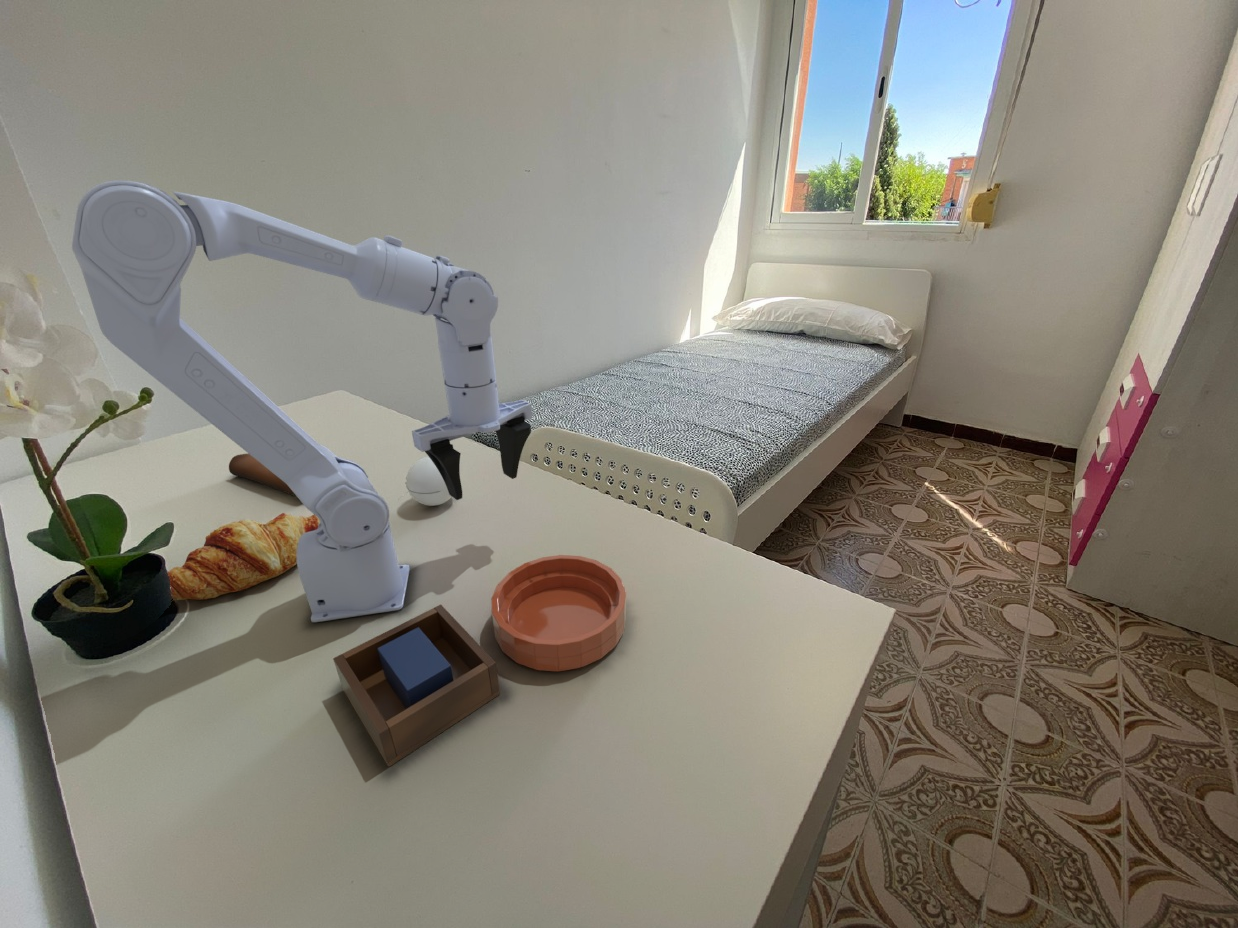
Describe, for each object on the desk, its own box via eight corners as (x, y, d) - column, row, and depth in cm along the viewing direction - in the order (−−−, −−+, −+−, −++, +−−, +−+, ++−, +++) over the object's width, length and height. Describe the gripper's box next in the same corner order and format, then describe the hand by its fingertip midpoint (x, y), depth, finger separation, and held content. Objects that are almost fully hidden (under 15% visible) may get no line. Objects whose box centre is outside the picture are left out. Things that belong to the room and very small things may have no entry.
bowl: (497, 686, 52) (493, 655, 50) (493, 591, 64) (490, 564, 62) (639, 660, 55) (640, 630, 53) (610, 574, 67) (610, 547, 65)
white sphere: (441, 485, 87) (434, 443, 84) (471, 500, 83) (465, 457, 79) (383, 511, 80) (373, 466, 77) (412, 529, 76) (403, 482, 72)
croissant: (339, 544, 78) (316, 492, 77) (365, 538, 71) (339, 482, 70) (159, 623, 63) (127, 560, 62) (168, 626, 56) (133, 556, 55)
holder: (388, 767, 45) (378, 733, 43) (343, 689, 52) (332, 658, 50) (500, 694, 51) (496, 662, 49) (446, 633, 58) (440, 603, 56)
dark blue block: (415, 722, 48) (407, 690, 46) (385, 679, 52) (376, 648, 50) (457, 696, 50) (451, 665, 48) (425, 657, 54) (418, 626, 53)
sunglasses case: (350, 477, 88) (322, 453, 83) (322, 514, 85) (292, 491, 80) (278, 455, 95) (249, 432, 90) (251, 488, 92) (218, 466, 87)
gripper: (425, 404, 54) (445, 519, 61) (543, 374, 63) (550, 477, 69) (396, 387, 59) (417, 496, 65) (510, 361, 68) (519, 459, 74)
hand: (483, 485), depth 68 cm, fingers open, 7 cm apart
